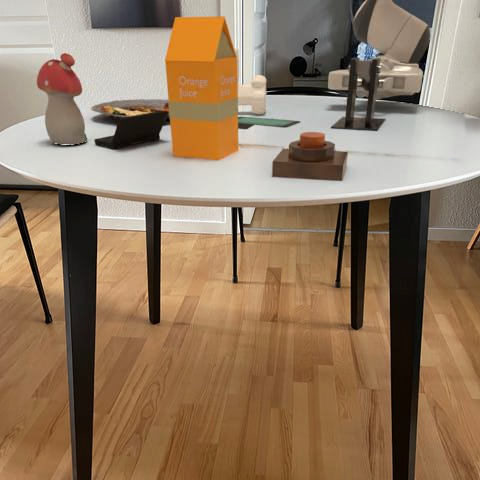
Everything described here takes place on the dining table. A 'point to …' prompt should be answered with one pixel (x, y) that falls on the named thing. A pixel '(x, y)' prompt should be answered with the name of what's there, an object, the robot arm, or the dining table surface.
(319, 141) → the button
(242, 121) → the smartphone
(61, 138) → the decorative ornament
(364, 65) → the switch lever
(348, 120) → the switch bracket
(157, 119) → the black angled stand
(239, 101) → the dog bone
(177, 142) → the orange juice
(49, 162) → the dining table surface
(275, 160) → the button block
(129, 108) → the food plate
